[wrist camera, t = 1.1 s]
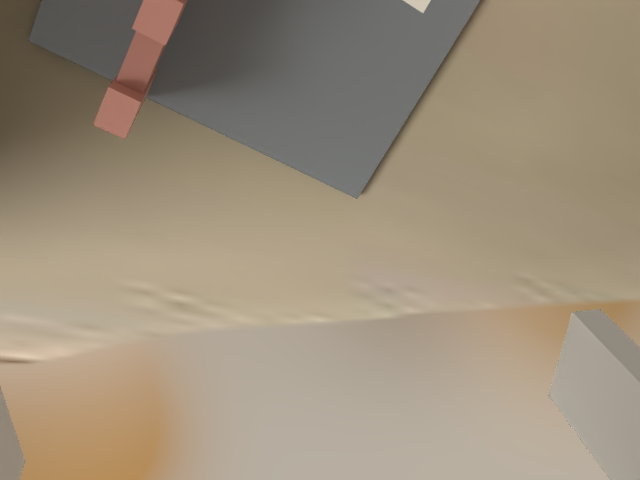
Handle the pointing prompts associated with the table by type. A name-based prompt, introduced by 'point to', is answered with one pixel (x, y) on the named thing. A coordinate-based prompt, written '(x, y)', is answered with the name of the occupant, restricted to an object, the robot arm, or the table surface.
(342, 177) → the card
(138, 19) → the fence gate
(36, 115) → the table surface
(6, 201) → the table surface
